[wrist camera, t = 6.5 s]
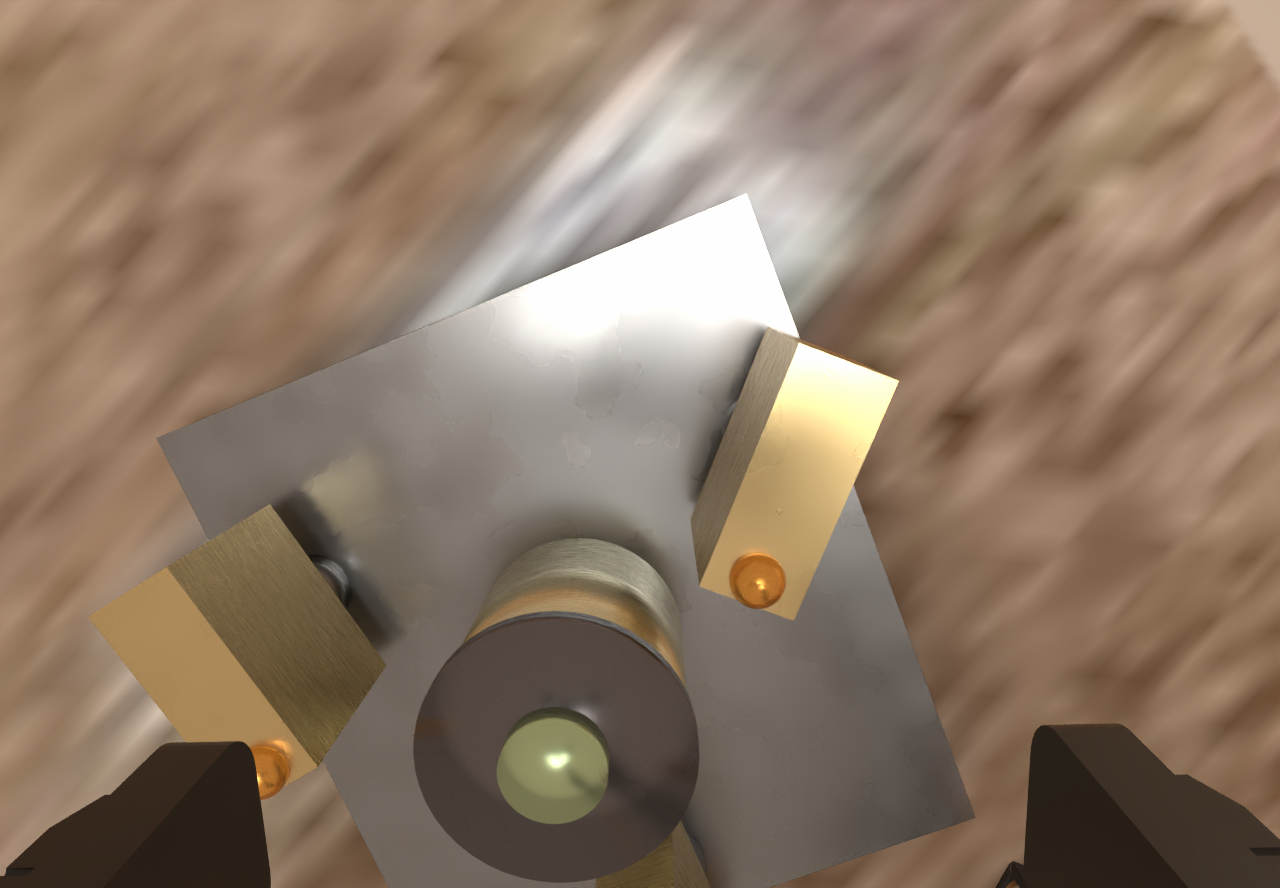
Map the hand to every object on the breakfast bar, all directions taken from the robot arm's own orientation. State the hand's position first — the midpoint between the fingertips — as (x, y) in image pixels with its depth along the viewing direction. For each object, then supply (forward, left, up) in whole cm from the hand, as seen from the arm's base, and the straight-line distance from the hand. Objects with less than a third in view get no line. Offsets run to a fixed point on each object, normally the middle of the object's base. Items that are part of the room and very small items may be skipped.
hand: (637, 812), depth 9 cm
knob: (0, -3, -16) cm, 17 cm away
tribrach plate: (-4, +4, -18) cm, 19 cm away
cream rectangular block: (0, +11, -16) cm, 19 cm away
